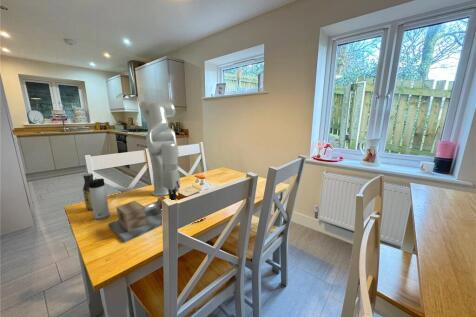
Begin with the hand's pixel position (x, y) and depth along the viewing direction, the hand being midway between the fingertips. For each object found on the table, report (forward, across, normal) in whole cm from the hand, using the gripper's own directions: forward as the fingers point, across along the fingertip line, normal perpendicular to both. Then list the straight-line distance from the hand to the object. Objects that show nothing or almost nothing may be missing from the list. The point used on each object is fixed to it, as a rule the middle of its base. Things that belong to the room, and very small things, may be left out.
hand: (172, 200), depth 103 cm
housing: (+6, 0, -16) cm, 17 cm away
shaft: (+2, 0, -12) cm, 12 cm away
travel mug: (+6, -21, -27) cm, 35 cm away
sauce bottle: (+6, -35, -27) cm, 45 cm away
